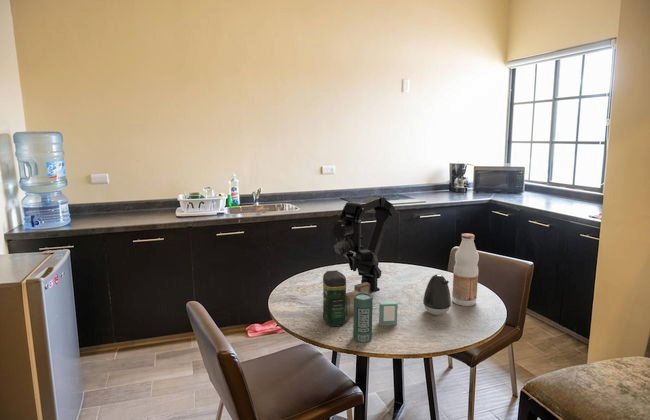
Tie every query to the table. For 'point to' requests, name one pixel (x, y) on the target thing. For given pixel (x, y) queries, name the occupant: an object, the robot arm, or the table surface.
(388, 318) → the mint green block
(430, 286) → the dark rounded piece
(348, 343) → the table surface
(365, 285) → the brown wooden block
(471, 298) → the fruit juice
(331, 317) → the coffee jar
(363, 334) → the can
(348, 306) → the tan wooden block
